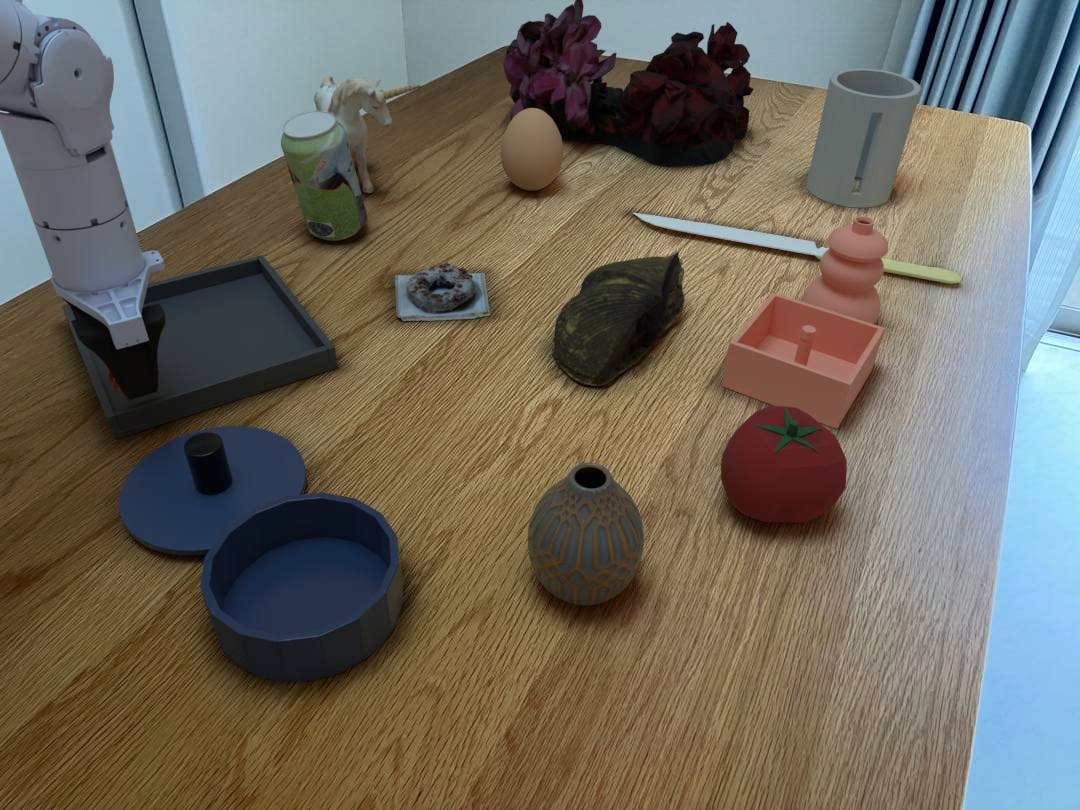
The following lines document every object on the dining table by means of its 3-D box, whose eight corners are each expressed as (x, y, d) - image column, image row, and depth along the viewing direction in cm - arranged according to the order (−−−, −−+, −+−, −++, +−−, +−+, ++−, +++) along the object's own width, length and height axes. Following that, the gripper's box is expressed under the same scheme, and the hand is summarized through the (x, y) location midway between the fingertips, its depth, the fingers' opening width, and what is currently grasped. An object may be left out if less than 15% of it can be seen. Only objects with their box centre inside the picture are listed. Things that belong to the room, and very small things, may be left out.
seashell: (629, 399, 69) (616, 319, 65) (532, 383, 74) (515, 308, 70) (710, 301, 80) (703, 228, 76) (621, 293, 84) (611, 224, 81)
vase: (580, 521, 59) (587, 420, 54) (660, 580, 55) (677, 478, 50) (503, 577, 55) (503, 474, 50) (584, 644, 51) (593, 540, 46)
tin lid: (148, 590, 54) (127, 538, 51) (104, 474, 62) (85, 423, 59) (334, 516, 59) (326, 465, 56) (273, 417, 67) (262, 368, 64)
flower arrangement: (749, 120, 116) (770, -2, 107) (736, 181, 101) (760, 46, 92) (520, 93, 122) (521, -25, 113) (476, 148, 107) (473, 17, 98)
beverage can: (380, 228, 91) (369, 112, 83) (330, 257, 86) (313, 137, 78) (334, 212, 93) (319, 98, 86) (283, 239, 88) (262, 121, 81)
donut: (394, 322, 77) (392, 302, 76) (396, 276, 83) (394, 257, 82) (490, 318, 78) (490, 298, 77) (484, 273, 84) (484, 254, 83)
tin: (250, 716, 47) (237, 674, 45) (192, 579, 55) (178, 536, 52) (434, 627, 52) (431, 585, 50) (359, 512, 59) (352, 470, 57)
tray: (114, 439, 64) (106, 417, 63) (69, 326, 76) (61, 305, 74) (338, 368, 72) (334, 346, 70) (266, 274, 83) (262, 254, 82)
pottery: (837, 429, 67) (870, 319, 61) (721, 386, 71) (741, 279, 65) (900, 321, 79) (934, 221, 73) (799, 289, 83) (822, 192, 77)
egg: (550, 206, 95) (553, 124, 90) (491, 196, 97) (491, 115, 92) (569, 181, 101) (572, 102, 95) (513, 171, 102) (513, 94, 97)
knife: (635, 204, 95) (624, 215, 91) (961, 262, 87) (965, 276, 83) (634, 216, 96) (623, 227, 92) (957, 274, 87) (961, 289, 83)
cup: (858, 168, 105) (885, 65, 98) (906, 201, 98) (939, 93, 91) (791, 177, 103) (813, 72, 95) (835, 212, 96) (863, 101, 88)
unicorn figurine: (369, 228, 90) (355, 98, 82) (288, 163, 102) (269, 43, 94) (430, 211, 94) (422, 83, 86) (345, 149, 106) (331, 33, 98)
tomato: (852, 530, 59) (880, 448, 55) (743, 554, 57) (763, 471, 53) (792, 452, 65) (813, 373, 60) (692, 472, 63) (706, 391, 59)
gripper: (174, 241, 54) (219, 413, 63) (120, 157, 64) (165, 317, 72) (49, 271, 51) (114, 447, 60) (11, 178, 61) (72, 342, 69)
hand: (135, 378), depth 66 cm, fingers closed on meatball, 4 cm apart
